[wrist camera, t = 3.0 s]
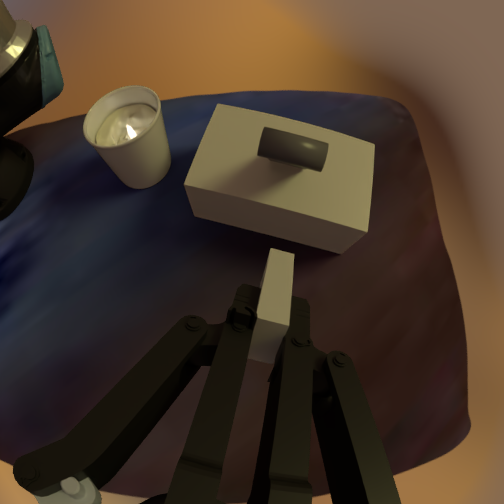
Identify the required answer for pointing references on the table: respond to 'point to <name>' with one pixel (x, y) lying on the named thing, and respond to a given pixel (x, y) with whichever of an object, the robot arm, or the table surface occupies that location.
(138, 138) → the candle holder
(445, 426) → the table surface
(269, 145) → the lever
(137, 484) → the table surface
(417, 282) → the table surface
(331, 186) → the beige rectangular box
